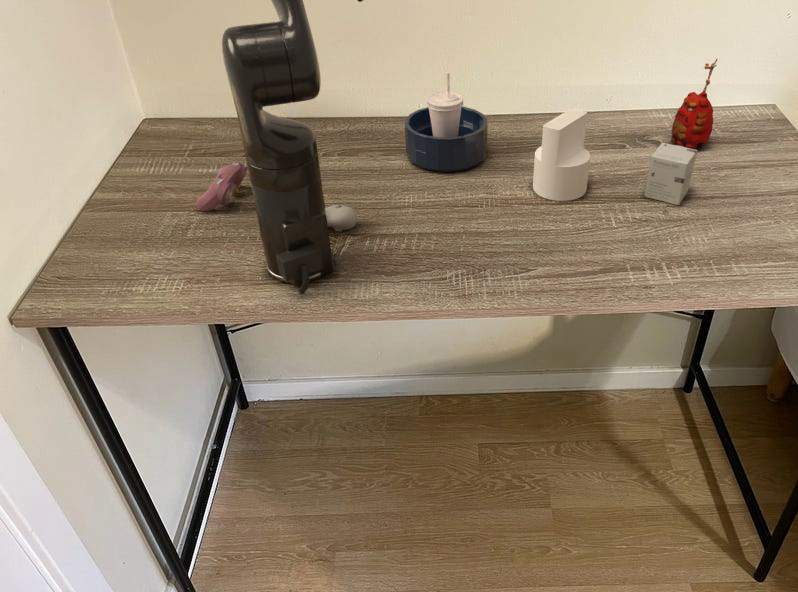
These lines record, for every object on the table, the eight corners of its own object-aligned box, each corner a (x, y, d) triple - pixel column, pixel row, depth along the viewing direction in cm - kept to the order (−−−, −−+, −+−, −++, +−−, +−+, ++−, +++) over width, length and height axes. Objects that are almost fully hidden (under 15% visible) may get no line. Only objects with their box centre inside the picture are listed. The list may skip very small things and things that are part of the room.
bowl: (502, 160, 136) (504, 125, 132) (436, 182, 130) (435, 146, 125) (456, 132, 145) (456, 99, 141) (391, 152, 139) (389, 117, 134)
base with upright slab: (568, 206, 123) (575, 135, 115) (522, 190, 127) (526, 121, 120) (596, 185, 129) (604, 116, 121) (551, 170, 133) (556, 103, 125)
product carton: (643, 197, 125) (650, 155, 121) (654, 182, 130) (661, 141, 125) (679, 206, 123) (688, 163, 119) (689, 190, 127) (698, 148, 123)
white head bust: (360, 228, 120) (354, 235, 116) (309, 226, 121) (302, 233, 116) (359, 200, 119) (354, 207, 114) (308, 198, 119) (301, 205, 114)
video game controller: (219, 223, 122) (229, 189, 118) (192, 209, 122) (202, 175, 117) (244, 194, 130) (255, 161, 125) (220, 180, 129) (230, 147, 124)
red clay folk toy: (661, 138, 143) (675, 57, 133) (692, 132, 145) (708, 51, 135) (687, 155, 137) (703, 71, 128) (718, 147, 140) (737, 64, 130)
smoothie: (463, 159, 134) (463, 80, 125) (426, 159, 134) (424, 80, 125) (464, 144, 139) (463, 66, 130) (429, 143, 139) (426, 66, 130)
